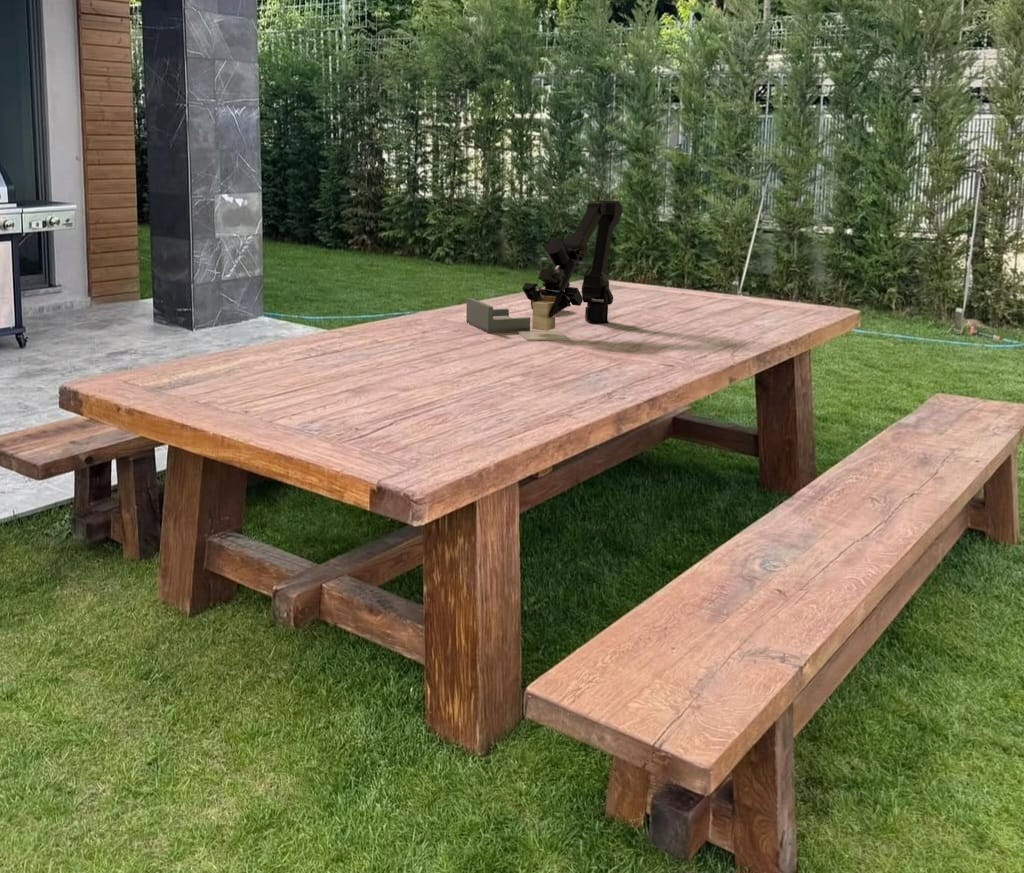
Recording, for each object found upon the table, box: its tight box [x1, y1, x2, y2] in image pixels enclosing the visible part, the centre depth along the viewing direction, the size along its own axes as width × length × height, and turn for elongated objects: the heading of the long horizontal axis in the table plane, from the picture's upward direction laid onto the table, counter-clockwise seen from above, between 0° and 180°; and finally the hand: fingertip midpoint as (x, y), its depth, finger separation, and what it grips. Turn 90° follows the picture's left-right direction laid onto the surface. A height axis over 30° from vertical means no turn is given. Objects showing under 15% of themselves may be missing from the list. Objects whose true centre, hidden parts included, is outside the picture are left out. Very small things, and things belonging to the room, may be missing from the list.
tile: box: [517, 330, 571, 342], centre depth 335 cm, size 13×13×1 cm
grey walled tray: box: [465, 297, 531, 334], centre depth 349 cm, size 14×19×8 cm
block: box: [531, 301, 556, 331], centre depth 333 cm, size 5×5×8 cm
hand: (541, 315), depth 332 cm, fingers closed on block, 5 cm apart
